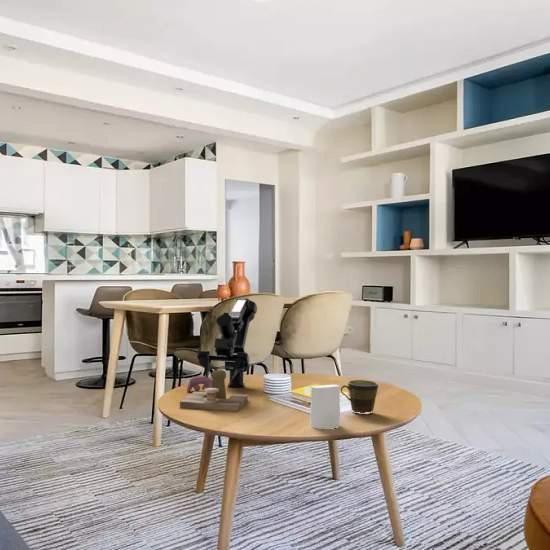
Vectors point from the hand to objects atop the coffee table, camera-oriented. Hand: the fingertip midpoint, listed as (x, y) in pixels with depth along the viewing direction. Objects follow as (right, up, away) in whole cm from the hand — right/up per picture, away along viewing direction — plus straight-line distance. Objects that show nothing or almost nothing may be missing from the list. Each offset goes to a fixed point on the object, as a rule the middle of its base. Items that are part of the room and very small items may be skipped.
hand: (218, 378), depth 192 cm
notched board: (-1, -8, -4) cm, 9 cm away
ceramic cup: (+48, -10, -12) cm, 50 cm away
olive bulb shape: (0, -8, 0) cm, 8 cm away
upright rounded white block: (+35, -9, -28) cm, 46 cm away
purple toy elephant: (-9, -8, +15) cm, 19 cm away
